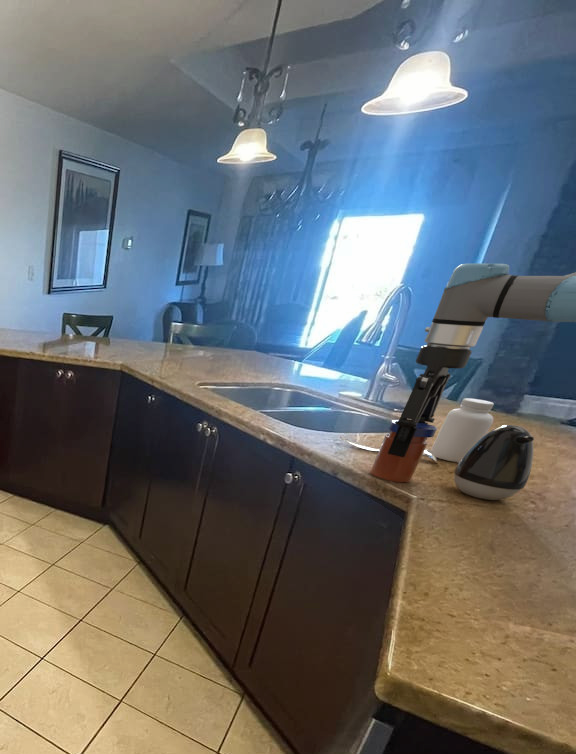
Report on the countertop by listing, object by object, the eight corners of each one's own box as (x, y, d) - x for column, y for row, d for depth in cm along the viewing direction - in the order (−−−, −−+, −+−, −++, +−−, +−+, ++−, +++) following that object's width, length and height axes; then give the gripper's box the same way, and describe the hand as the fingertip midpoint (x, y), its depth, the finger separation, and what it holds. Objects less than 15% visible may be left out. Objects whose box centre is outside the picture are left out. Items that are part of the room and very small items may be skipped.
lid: (382, 430, 107) (386, 422, 107) (394, 425, 111) (397, 418, 110) (427, 439, 102) (431, 431, 101) (438, 434, 105) (441, 426, 105)
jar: (413, 478, 110) (433, 433, 106) (406, 485, 106) (427, 439, 102) (374, 468, 115) (392, 425, 111) (366, 474, 111) (384, 430, 107)
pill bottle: (476, 466, 119) (507, 406, 113) (432, 459, 123) (460, 400, 117) (466, 457, 125) (495, 400, 119) (425, 450, 129) (451, 395, 123)
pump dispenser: (462, 500, 100) (499, 428, 93) (436, 481, 108) (468, 415, 102) (528, 510, 96) (571, 436, 90) (495, 490, 105) (532, 422, 99)
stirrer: (342, 431, 129) (344, 427, 132) (336, 443, 131) (338, 440, 134) (443, 455, 118) (442, 450, 121) (436, 468, 119) (435, 463, 122)
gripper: (436, 341, 107) (395, 440, 116) (407, 346, 97) (364, 454, 106) (484, 346, 102) (437, 449, 111) (459, 351, 91) (409, 465, 100)
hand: (401, 452), depth 108 cm, fingers closed on lid, 7 cm apart
